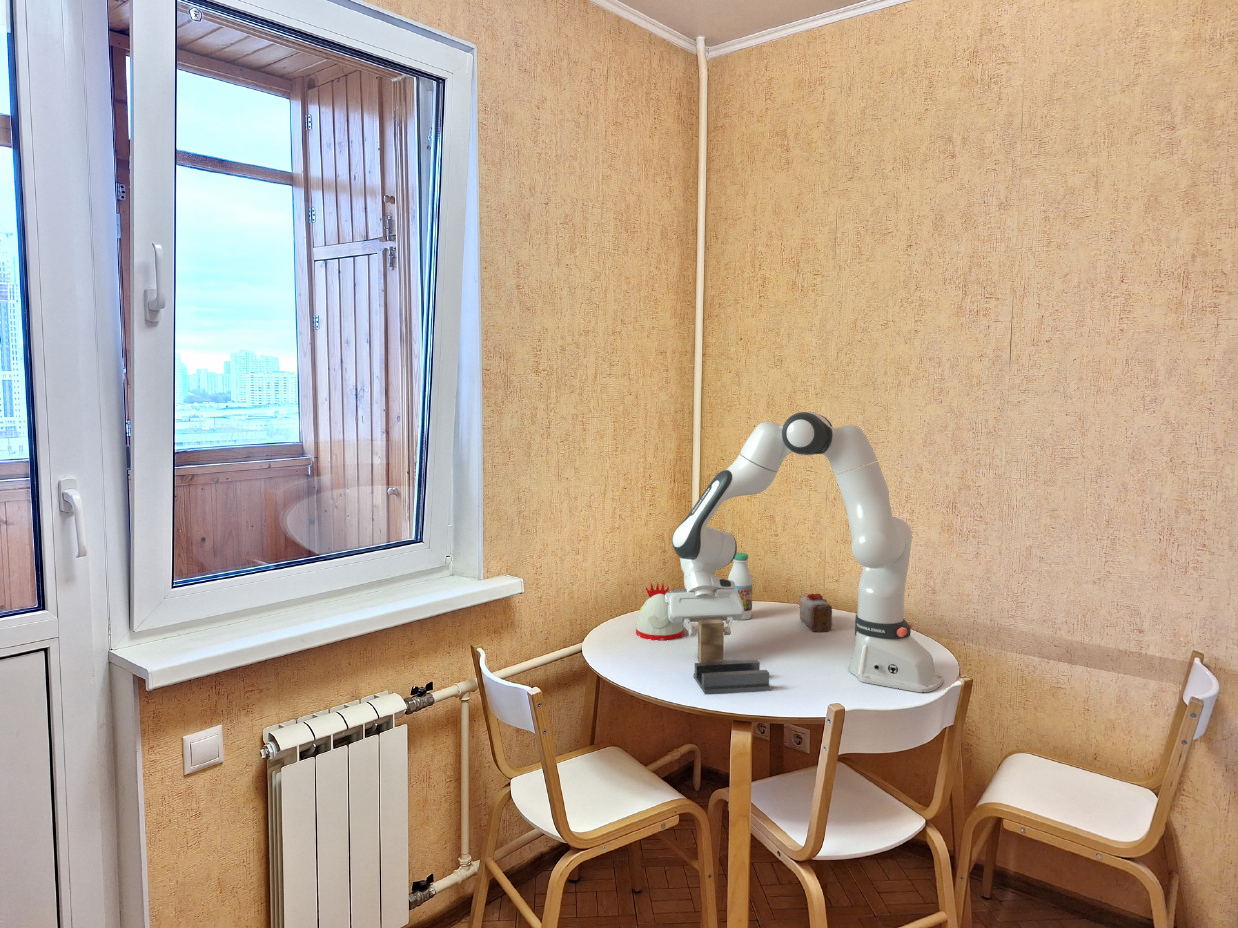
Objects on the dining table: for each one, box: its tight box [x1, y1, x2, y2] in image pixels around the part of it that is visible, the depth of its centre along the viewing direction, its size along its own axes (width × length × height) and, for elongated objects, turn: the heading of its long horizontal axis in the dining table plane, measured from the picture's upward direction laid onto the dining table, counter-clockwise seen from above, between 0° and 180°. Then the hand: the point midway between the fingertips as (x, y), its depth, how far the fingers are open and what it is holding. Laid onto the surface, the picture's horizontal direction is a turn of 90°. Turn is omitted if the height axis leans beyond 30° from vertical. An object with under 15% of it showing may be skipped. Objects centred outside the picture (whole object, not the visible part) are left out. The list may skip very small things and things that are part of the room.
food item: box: [798, 593, 833, 633], centre depth 242 cm, size 14×8×10 cm, turn 5°
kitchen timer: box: [635, 582, 685, 642], centre depth 234 cm, size 14×14×15 cm
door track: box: [693, 659, 771, 695], centre depth 195 cm, size 16×11×4 cm
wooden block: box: [697, 620, 725, 663], centre depth 209 cm, size 6×3×11 cm, turn 99°
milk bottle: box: [727, 552, 753, 621], centre depth 250 cm, size 8×8×20 cm
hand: (710, 634), depth 210 cm, fingers open, 8 cm apart
